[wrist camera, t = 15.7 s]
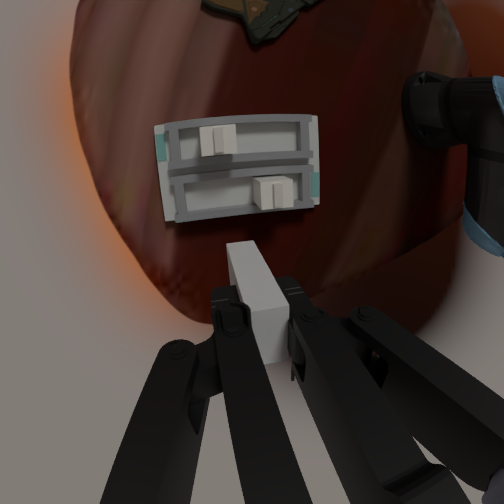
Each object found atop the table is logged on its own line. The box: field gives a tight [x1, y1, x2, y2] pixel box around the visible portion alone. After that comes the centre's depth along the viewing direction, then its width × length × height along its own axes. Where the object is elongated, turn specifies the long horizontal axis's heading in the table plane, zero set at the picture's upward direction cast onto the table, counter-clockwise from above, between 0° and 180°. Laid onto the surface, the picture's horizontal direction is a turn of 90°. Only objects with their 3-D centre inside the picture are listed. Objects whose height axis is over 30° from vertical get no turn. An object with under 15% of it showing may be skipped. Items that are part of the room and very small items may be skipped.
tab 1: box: [199, 124, 237, 157], centre depth 31 cm, size 4×3×6 cm
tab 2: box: [252, 175, 294, 210], centre depth 35 cm, size 4×3×6 cm
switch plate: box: [154, 114, 319, 223], centre depth 35 cm, size 22×13×3 cm, turn 93°
